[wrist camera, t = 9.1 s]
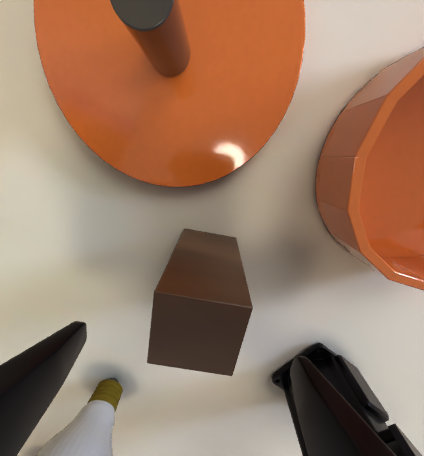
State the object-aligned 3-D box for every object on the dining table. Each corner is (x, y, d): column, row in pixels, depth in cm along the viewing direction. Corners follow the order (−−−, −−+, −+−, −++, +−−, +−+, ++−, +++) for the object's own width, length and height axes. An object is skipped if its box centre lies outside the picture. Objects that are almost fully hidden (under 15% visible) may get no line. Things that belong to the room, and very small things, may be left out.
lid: (193, 224, 16) (180, 258, 10) (10, 80, 13) (-136, 24, 8) (351, 40, 12) (461, -57, 6) (138, -230, 9) (22, -802, 4)
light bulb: (117, 405, 23) (48, 576, 14) (75, 377, 22) (-34, 546, 12) (152, 383, 22) (102, 555, 12) (110, 351, 20) (17, 518, 11)
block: (225, 281, 17) (232, 377, 10) (177, 273, 17) (146, 363, 10) (236, 237, 16) (253, 307, 8) (184, 228, 16) (153, 291, 8)
